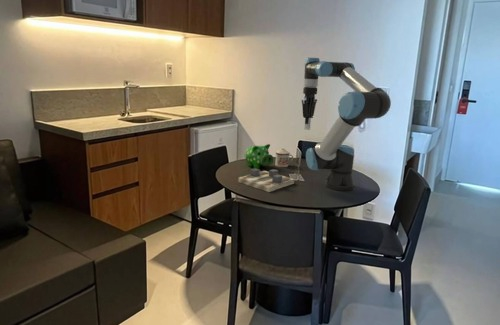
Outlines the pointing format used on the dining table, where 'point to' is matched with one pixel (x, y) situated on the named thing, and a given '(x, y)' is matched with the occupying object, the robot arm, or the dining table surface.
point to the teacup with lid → (282, 158)
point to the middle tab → (273, 172)
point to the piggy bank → (258, 156)
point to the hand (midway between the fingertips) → (307, 129)
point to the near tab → (277, 178)
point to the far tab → (255, 172)
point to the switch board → (265, 181)
